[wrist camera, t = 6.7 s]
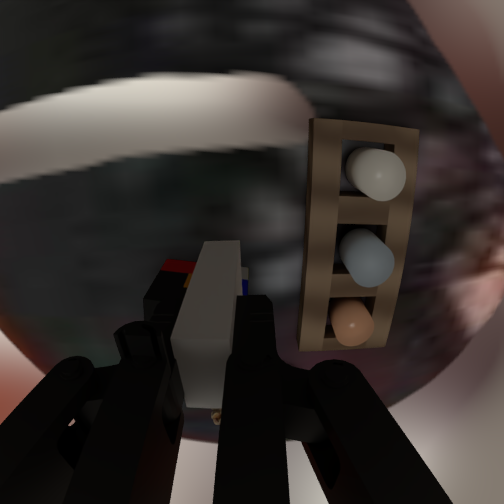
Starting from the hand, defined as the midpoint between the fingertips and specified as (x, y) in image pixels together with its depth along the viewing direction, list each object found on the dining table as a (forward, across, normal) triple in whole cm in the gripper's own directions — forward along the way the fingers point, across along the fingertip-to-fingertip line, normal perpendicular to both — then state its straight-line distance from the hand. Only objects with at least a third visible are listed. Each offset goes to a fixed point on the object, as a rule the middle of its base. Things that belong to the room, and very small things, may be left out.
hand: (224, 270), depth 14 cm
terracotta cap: (+22, +13, -17) cm, 30 cm away
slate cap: (+20, +13, -8) cm, 25 cm away
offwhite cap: (+21, +13, +1) cm, 25 cm away
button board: (+23, +13, -8) cm, 27 cm away
